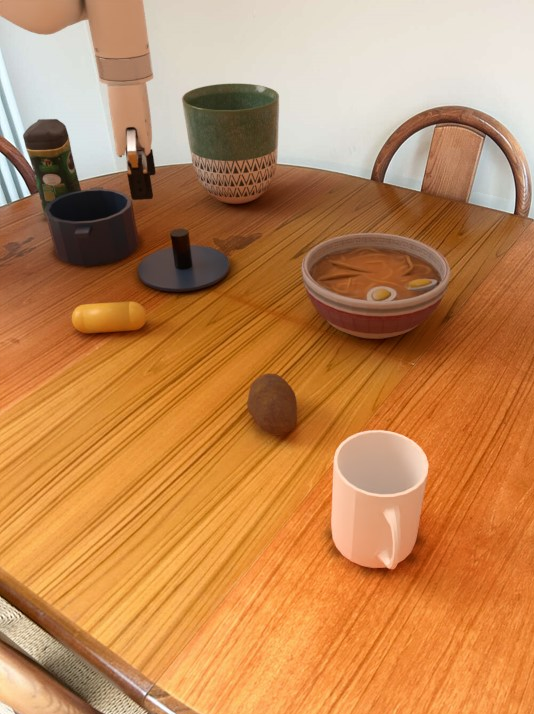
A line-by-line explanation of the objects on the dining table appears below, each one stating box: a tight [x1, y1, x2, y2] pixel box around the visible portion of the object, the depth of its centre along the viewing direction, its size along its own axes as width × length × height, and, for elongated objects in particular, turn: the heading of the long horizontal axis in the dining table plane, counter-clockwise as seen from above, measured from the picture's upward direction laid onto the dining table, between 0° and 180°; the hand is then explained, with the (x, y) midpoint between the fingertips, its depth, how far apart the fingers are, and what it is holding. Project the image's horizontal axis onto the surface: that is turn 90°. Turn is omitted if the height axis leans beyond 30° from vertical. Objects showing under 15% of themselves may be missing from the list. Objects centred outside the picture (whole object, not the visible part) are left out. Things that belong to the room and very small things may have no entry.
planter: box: [181, 82, 280, 205], centre depth 139 cm, size 20×20×21 cm
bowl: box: [301, 232, 452, 340], centre depth 104 cm, size 23×23×10 cm
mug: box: [330, 429, 430, 570], centre depth 68 cm, size 10×12×12 cm
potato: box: [246, 373, 298, 436], centre depth 86 cm, size 7×10×6 cm
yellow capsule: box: [71, 301, 148, 334], centre depth 104 cm, size 12×5×5 cm, turn 96°
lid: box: [137, 228, 231, 293], centre depth 118 cm, size 17×17×8 cm
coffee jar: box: [22, 118, 82, 218], centre depth 134 cm, size 10×8×19 cm
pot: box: [44, 186, 139, 267], centre depth 125 cm, size 16×21×8 cm
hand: (144, 186), depth 103 cm, fingers open, 9 cm apart
